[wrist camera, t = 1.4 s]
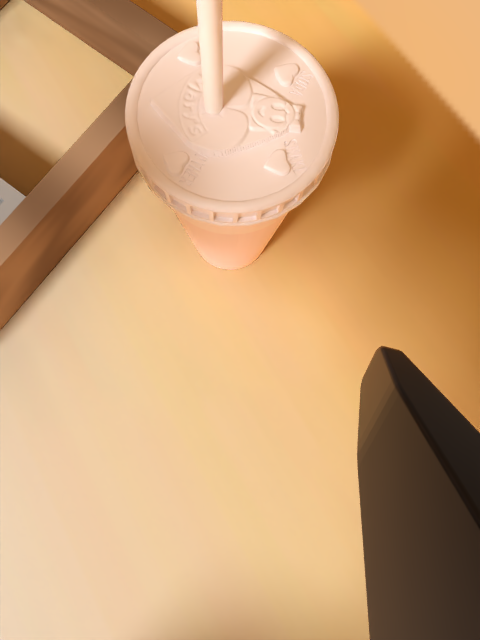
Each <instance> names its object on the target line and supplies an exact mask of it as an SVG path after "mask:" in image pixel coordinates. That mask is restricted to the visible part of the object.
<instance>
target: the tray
mask: <svg viewBox="0 0 480 640" xmlns="http://www.w3.org/2000/svg"><path fill="white" fill-rule="evenodd" d="M25 197H26V196H24V195H23V194H22V193H20V192H19V191H18V190H16V189H15V188H13V187H12V186H11V185H9V184H8V183H7V182H5V181H4V180H3V179H1V178H0V225H1V224H2V223H3V222H4V221H5V219H6V218H7V217H8V216H9V215H10V214H11V213H12V212H13V211H14V209H15V208H16V207H17V206H18V205H19V204H20V203H21V202H22V201H23V200H24V198H25Z"/></svg>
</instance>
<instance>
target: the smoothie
mask: <svg viewBox="0 0 480 640" xmlns="http://www.w3.org/2000/svg"><path fill="white" fill-rule="evenodd" d="M196 5H197V18H198V25H197V26H194V27H191V28H189V29H186V30H184V31H181V32H179V33H177V34H175V35H174V36H172V37H170V38H169V39H167V40H166V41H164V42H163V43H162V44H160V45H159V46H158V47H157V48H156V49H154V50H153V51H152V52H151V53H150V54H149V56H148V57H147V58H146V59H145V60H144V62H143V63H142V64H141V66H140V67H139V69H138V70H137V72H136V74H135V76H134V78H133V80H132V82H131V85H130V88H129V91H128V95H127V99H126V107H125V124H126V131H127V136H128V140H129V143H130V147H131V150H132V154H133V157H134V161H135V164H136V167H137V169H138V171H139V172H140V174H141V175H142V177H143V179H144V180H145V182H146V183H147V185H148V187H149V188H150V190H152V191H153V192H154V193H155V194H156V195H157V196H158V197H159V198H160V199H161V200H163V201H164V202H165V203H166V204H167V205H168V206H169V207H170V208H172V209H173V211H174V212H175V214H176V216H177V217H178V219H179V221H180V222H181V224H182V226H183V227H184V229H185V231H186V232H187V234H188V236H189V237H190V239H191V241H192V242H193V244H194V246H195V247H196V249H197V251H198V252H199V254H200V255H201V256H202V258H203V259H204V260H206V261H207V262H208V263H210V264H211V265H213V266H215V267H218V268H221V269H228V270H233V269H239V268H243V267H245V266H247V265H249V264H251V263H252V262H254V261H255V260H256V259H257V258H258V257H259V255H260V254H261V253H262V251H263V250H264V248H265V247H266V245H267V244H268V242H269V241H270V239H271V238H272V236H273V235H274V233H275V232H276V230H277V229H278V227H279V226H280V224H281V223H282V221H283V220H284V218H285V217H286V215H287V214H288V212H289V211H290V210H292V209H294V208H295V207H297V206H299V205H300V204H301V203H302V202H303V201H304V200H305V199H306V198H307V197H308V196H309V195H310V194H311V193H312V192H313V191H314V190H315V189H316V188H317V187H318V185H319V183H320V182H321V180H322V178H323V176H324V174H325V172H326V171H327V169H328V167H329V165H330V161H331V157H332V152H333V148H334V146H335V143H336V138H337V134H338V126H339V111H338V104H337V99H336V95H335V92H334V89H333V86H332V84H331V81H330V79H329V77H328V76H327V74H326V72H325V70H324V69H323V67H322V66H321V65H320V63H319V62H318V61H317V60H316V58H315V57H314V56H313V55H312V54H311V53H310V52H309V51H308V50H307V49H306V48H304V47H303V46H302V45H301V44H299V43H298V42H297V41H295V40H294V39H292V38H290V37H289V36H287V35H285V34H283V33H281V32H279V31H277V30H274V29H272V28H269V27H266V26H263V25H259V24H255V23H249V22H244V21H222V0H196Z"/></svg>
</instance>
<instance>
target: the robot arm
mask: <svg viewBox="0 0 480 640" xmlns="http://www.w3.org/2000/svg"><path fill="white" fill-rule="evenodd" d="M357 463H358V479H359V493H360V507H361V521H362V535H363V549H364V563H365V577H366V591H367V606H368V620H369V634H370V640H480V433H479V432H478V431H477V430H476V429H475V427H474V426H473V425H472V424H471V423H470V422H469V421H468V420H467V419H466V418H465V417H464V416H463V415H462V414H461V413H460V412H459V411H458V410H457V409H456V408H455V407H454V406H453V404H452V403H451V402H450V401H449V400H448V399H447V398H446V397H445V396H444V395H443V394H442V393H441V392H440V391H439V390H438V389H437V388H436V387H435V386H434V385H433V384H432V382H431V381H430V380H429V379H428V378H427V377H426V376H425V375H424V374H423V373H422V372H421V371H420V370H419V369H418V368H417V367H416V366H415V365H414V364H413V363H412V362H411V360H410V359H409V358H408V357H407V356H406V355H405V354H404V353H403V352H402V351H400V350H397V349H393V348H389V347H385V346H381V347H379V348H378V349H377V350H376V352H375V354H374V356H373V358H372V360H371V362H370V364H369V366H368V368H367V370H366V372H365V374H364V377H363V379H362V383H361V391H360V409H359V427H358V446H357Z"/></svg>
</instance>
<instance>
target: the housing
mask: <svg viewBox="0 0 480 640" xmlns="http://www.w3.org/2000/svg"><path fill="white" fill-rule="evenodd" d="M8 1H9V0H0V9H1V8H2V7H3V6H4V5H5V4H6V3H7V2H8ZM24 1H25V2H27V3H28V4H30V5H31V6H33V7H34V8H36V9H37V10H38V11H40V12H41V13H43V14H44V15H46V16H47V17H49V18H50V19H52V20H53V21H54V22H56V23H57V24H59V25H60V26H62V27H63V28H65V29H66V30H68V31H69V32H70V33H72V34H73V35H75V36H76V37H78V38H79V39H81V40H82V41H83V42H85V43H86V44H88V45H89V46H91V47H92V48H94V49H95V50H97V51H98V52H99V53H101V54H102V55H104V56H105V57H107V58H108V59H110V60H111V61H113V62H114V63H115V64H117V65H118V66H120V67H121V68H123V69H124V70H126V71H127V72H128V73H130V74H131V75H133V76H135V74H136V72H137V70H138V69H139V67H140V66H141V64H142V63H143V62H144V60H145V59H146V58H147V57H148V56H149V54H150V53H151V52H152V51H153V50H154V49H156V48H157V47H158V46H159V45H160V44H162V43H163V42H164V41H166V40H167V39H169V38H170V37H172V36H174V35H175V34H177V32H176V31H174V30H173V29H171V28H170V27H169V26H167V25H166V24H164V23H163V22H161V21H160V20H158V19H157V18H155V17H154V16H152V15H151V14H149V13H148V12H146V11H145V10H143V9H142V8H140V7H139V6H137V5H136V4H134V3H133V2H131V1H130V0H24ZM132 80H133V79H132ZM132 80H131V81H130V82H129V84H128V85H127V86H126V87H125V88H124V89H123V90H122V91H121V92H120V94H119V95H118V96H117V97H116V98H115V99H114V100H113V101H112V102H111V103H110V105H109V106H108V107H107V108H106V109H105V110H104V111H103V112H102V113H101V115H100V116H99V117H98V118H97V119H96V120H95V121H94V122H93V123H92V124H91V126H90V127H89V128H88V129H87V130H86V131H85V132H84V133H83V134H82V135H81V137H80V138H79V139H78V140H77V141H76V142H75V143H74V144H73V145H72V147H71V148H70V149H69V150H68V151H67V152H66V153H65V154H64V155H63V156H62V158H61V159H60V160H59V161H58V162H57V163H56V164H55V165H54V166H53V168H52V169H51V170H50V171H49V172H48V173H47V174H46V175H45V176H44V177H43V179H42V180H41V181H40V182H39V183H38V184H37V185H36V186H35V187H34V188H33V190H32V191H31V192H30V193H29V194H28V195H27V196H26V197H25V198H24V200H23V201H22V202H21V203H20V204H19V205H18V206H17V207H16V208H15V209H14V211H13V212H12V213H11V214H10V215H9V216H8V217H7V218H6V219H5V221H4V222H3V223H2V224H1V225H0V330H1V329H2V327H3V326H4V325H5V324H6V323H7V322H8V320H9V319H10V318H11V317H12V316H13V315H14V314H15V312H16V311H17V310H18V309H19V308H20V307H21V305H22V304H23V303H24V302H25V301H26V300H27V298H28V297H29V296H30V295H31V294H32V293H33V291H34V290H35V289H36V288H37V287H38V286H39V284H40V283H41V282H42V281H43V280H44V279H45V277H46V276H47V275H48V274H49V273H50V272H51V271H52V269H53V268H54V267H55V266H56V265H57V264H58V262H59V261H60V260H61V259H62V258H63V257H64V255H65V254H66V253H67V252H68V251H69V250H70V248H71V247H72V246H73V245H74V244H75V243H76V241H77V240H78V239H79V238H80V237H81V236H82V235H83V233H84V232H85V231H86V230H87V229H88V228H89V226H90V225H91V224H92V223H93V222H94V221H95V219H96V218H97V217H98V216H99V215H100V214H101V212H102V211H103V210H104V209H105V208H106V207H107V205H108V204H109V203H110V202H111V201H112V200H113V199H114V197H115V196H116V195H117V194H118V193H119V192H120V190H121V189H122V188H123V187H124V186H125V185H126V183H127V182H128V181H129V180H130V179H131V178H132V176H133V175H134V174H135V173H136V172H137V171H138V169H137V167H136V164H135V161H134V157H133V154H132V150H131V147H130V143H129V140H128V136H127V131H126V124H125V107H126V99H127V95H128V91H129V88H130V85H131V82H132Z"/></svg>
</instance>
